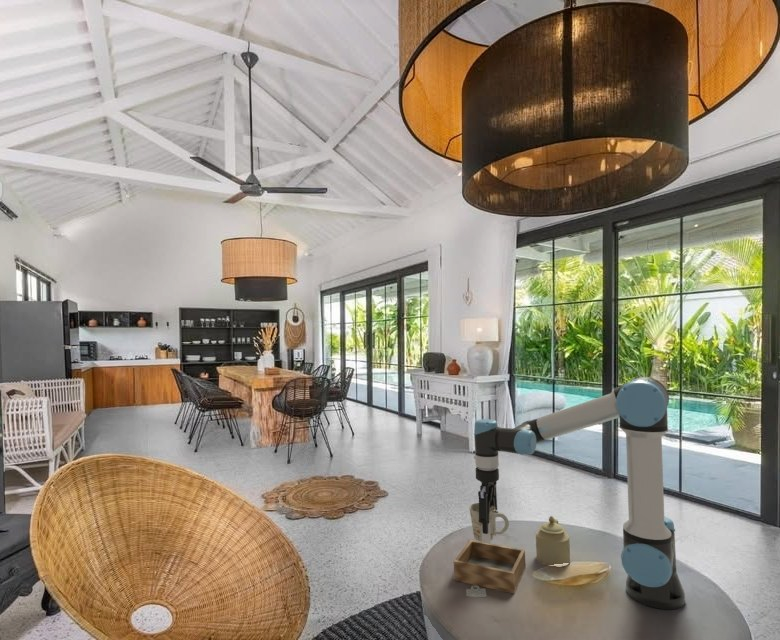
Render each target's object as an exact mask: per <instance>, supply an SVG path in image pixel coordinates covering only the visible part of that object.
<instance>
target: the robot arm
mask: <svg viewBox="0 0 780 640" xmlns="http://www.w3.org/2000/svg"><path fill="white" fill-rule="evenodd" d="M669 397H670V395H669V392H668V390H667V388H666V387H665V385H664V384H663V383H662V382H661V381H659V380H657V379H655V378H653V377H649V376H640V377H636V378H634V379H632V380H630V381H628V382H627V383H625V384H623V385H621V386H617V387H615V388H613V389H612V390H611V392H610V393H608V394H605V395H602V396H599V397H597V398H592V399H590V400H587V401H584V402H581V403H579V404H576V405H572V406H569V407H566V408H563V409H561V410H559V411H555V412H552V413H549V414H545V415H543V416H540V417H537V418H535V419H532V420H531V419H530V420H526V421H524V422H522V423H521V424H518V425H517V426H515V427H514V428H509V427H500V426H498V422H497V421H496V420H495V419H490V418H488V419H487V418H485V419H478V420H476V421H475V423H474V432H473V435H474V457H473V459H474V460H475V479H476V480H477V481H479V482H480V483H481V485H480V487H479V491H478V492H477V494H478V503H479V520H478V522H479V523H482V525H481V528H482V543H487V544H492V540H491V533H490V522H489V513H490V507H491V506H492V505H493V506H494V507H495V513H499V511H498V496H497V494H498V493H497V481H498V482H499V479H500V469H499V467H500V466H499V465H500V464H499V463H500V462H499V452H501V453H502V452H504V453H511V454H518V455H523V456H524V455H533V454H534V453H535V451H536V447H537V444H538V443H541V442H544V441H546V440H547V441H548V440H550V439H554V438H558V437H560V436H563V435H567V434H570V433H572V432H573V433H574V432H577V431H581V430H584V429H587V428H591V427H593V426H597V425H600V424H603V423H607V422H609V421H613V420H615V419H619V429H621V430H622V431H623V432H624V433H625V442H626V444H625V445H626V473H627V475H626V476H627V477H626V478H627V504H628V505H627V508H628V510H627V511H628V520H626V521H625V522H624V523H623V525H622V534H623V535H622V537H623V538H622V540H623V543H622V544H623V548H622V551H621V555H620V558H621V566H622V568H623V570H624V571H625V573H626V574H627V576H626V580H625V589H626V593H627V594H628V595H629V596H630V597H631V598H632V599H633V600H635V601H637V602H638V603H640V604H642V605H646V606H648V607H650V608H651V607H652V608H655V609H661V610H676V609H680V608H681V607H682V608H683V606H684V605H685V604H686V594H685V591H684V588H683V584H682V583H681V580H680V578H679V575H678V572H677V559H676V540H675V539H676V538H675V535H676V534H675V532H676V528H675V524H674V521H673V520H672V519H671V518H669V517H667V516H665V503H664V501H665V496H664V472H663V471H664V470H663V444H662V441H663V439H662V437H664V435H665V434H666V433H667V432H668V431H669V430H668V429H669V427H668V426H669V425H668V424H669V423H668V405H669V402H670V401H669V400H670V398H669ZM493 531H497V517H495V519H494V530H493ZM493 536H497V534H494V533H493Z"/></svg>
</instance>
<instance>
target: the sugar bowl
mask: <svg viewBox="0 0 780 640" xmlns="http://www.w3.org/2000/svg"><path fill="white" fill-rule="evenodd" d="M538 528H539V530H537V531H536V532H535V551H536V560H537V561H538V562H539V563H540V564H542V565H544V566H547V565H554V564H563V563H569V564H570V563H571V545H570V536H569V534H568V533H567V532H566V529H565V527H563V526H562V525H560V523H559V521H558V519H556V518H555V517H554V516H553V515H550V516H549V517H548V522H544V523H543V524H541V525H540V526H539V527H538Z"/></svg>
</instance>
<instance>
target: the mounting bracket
mask: <svg viewBox="0 0 780 640" xmlns="http://www.w3.org/2000/svg"><path fill="white" fill-rule="evenodd" d="M480 587H481V586H477V585H473V584H472V585H471V587H470V588H465V592H466V594H465V595H466V597H469V598H470V597H471V598H473V597H474V598H476V597H477V598H486V597H487V592H486V587H483V588H480Z"/></svg>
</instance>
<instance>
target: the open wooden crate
mask: <svg viewBox="0 0 780 640" xmlns="http://www.w3.org/2000/svg"><path fill="white" fill-rule="evenodd" d="M526 566H527V565H526V549H521V548H517V547H510V546H505V545H501V544H495V543H491V544H487V543H482V542H481V541H478V540H473V539H470V540H469V541H468V542H467V544H465V546H464V547H463V549H461V551H460V553H459V554H458V555H457V557H455V559H454V560H453V570H454V571H453V579H454V581H456V582H461V583H465V584H469V585H472V586H473V585H476V586H479V587H483V588H485V589H486V588H487V589H492V590H496V591H499V592H504V593H508V594H512V595H515V594H516V591H517V590H518V587H519V585H520V582H521V581H522V580H521V579H522V578H523V576H524V573H525V571H526V568H527V567H526ZM518 584H519V585H518Z"/></svg>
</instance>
